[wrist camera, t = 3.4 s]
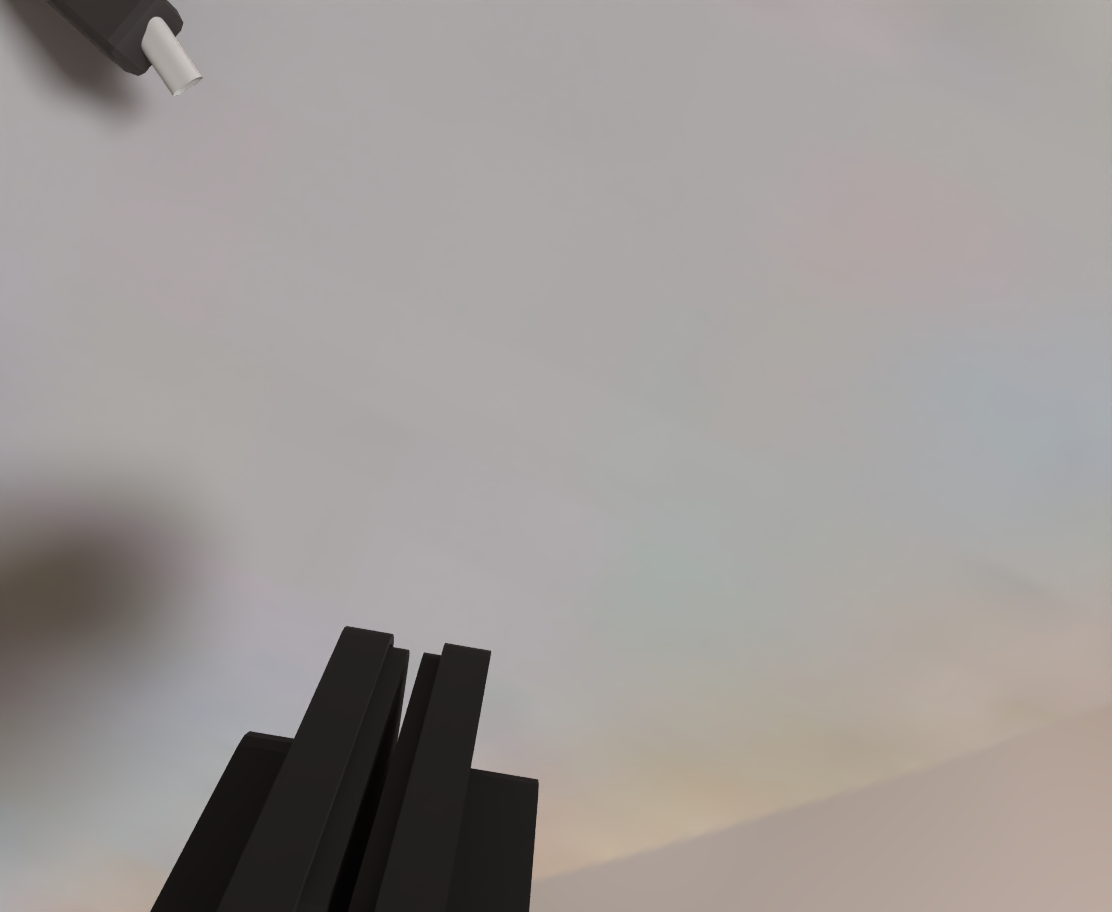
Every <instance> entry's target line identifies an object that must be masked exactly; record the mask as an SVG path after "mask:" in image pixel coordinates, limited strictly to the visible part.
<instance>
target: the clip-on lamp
mask: <svg viewBox="0 0 1112 912" xmlns="http://www.w3.org/2000/svg"><path fill="white" fill-rule="evenodd" d="M46 1H47V2H48V3H49V4H50V5H51V6H52V7H53V8H55V9H56V10H57V11H58V12H59V13H60V14H61V15H62V16H63V17H65V18H66V19H67V20H68V21H69V22H70V23H71V24H72V25H73V26H74V27H76V28H77V29H78V30H79V31H80V32H81V33H82V34H83V35H84V36H86V37H87V38H88V39H89V40H90V41H91V42H92V43H93V44H94V45H95V46H97V47H98V48H99V49H100V50H101V51H102V52H103V53H104V54H105V55H107V56H108V57H109V58H110V59H111V60H112V61H113V62H115V63H116V64H117V65H118V66H120V67H121V68H122V69H123V70H125V71H126V72H129V73H132V74H135V75H137V76H139V75H141V74H143V73H145V72H146V71H147V70H148V69H149V67H150V66H151V65H153V67H154V68H155V70H156V71H157V73H158V74H159V76H160V77H161V79H162V80H163V82H164V83H165V85H166V86H167V88H168V89H169V91H170V92H171V94H172V95H173V96H177V95H179V94H181V93H183V92H185V91H186V90H188V89H189V88H191V87H192V86H194V85H195V84H196V83H198V82H199V81H200V80H201V79H202V76H201V74H200V73H199V71H198V70H197V69H196V67H195V66H194V64H193V63H192V61H191V60H190V58H189V57H188V55H187V54H186V52H185V51H184V49H183V48H182V46H181V45H180V43H179V42H178V40H177V39H176V35H177V34H178V33H179V32H180V31H181V29H182V26H183V21H182V19H181V17H180V15H179V13H178V11H177V10H176V9H175V8H174V7H173V6H172V5H171V4H170V3H169V2H168V1H167V0H46Z"/></svg>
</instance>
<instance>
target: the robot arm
mask: <svg viewBox="0 0 1112 912" xmlns="http://www.w3.org/2000/svg"><path fill="white" fill-rule="evenodd" d="M393 644H394V636H393V634H390V633H384V632H378V631H372V630H366V629H360V628H355V627H349V626H346V627H345V628H344V629H343V631H342V633H341V635H340V638H339V640H338V642H337V644H336V647H335V649H334V651H333V653H332V655H331V658H330V660H329V662H328V664H327V667H326V669H325V671H324V673H323V676H322V678H321V680H320V682H319V684H318V687H317V689H316V691H315V693H314V696H313V698H312V700H311V702H310V704H309V707H308V709H307V711H306V713H305V716H304V718H303V720H302V722H301V725H300V727H299V729H298V731H297V733H296V736H295V738H294V739H293V738H287V737H281V736H275V735H269V734H263V733H257V732H251V731H249V732H248V733H247V734H245V735H244V737H243V738H242V740H241V741H240V743H239V745H238V746H237V748H236V750H235V752H234V754H233V756H232V758H231V760H230V762H229V763H228V765H227V767H226V769H225V771H224V773H223V775H222V777H221V779H220V780H219V782H218V784H217V786H216V788H215V790H214V792H213V794H212V796H211V798H210V799H209V801H208V803H207V805H206V807H205V809H204V811H203V813H202V815H201V817H200V818H199V820H198V822H197V824H196V826H195V828H194V830H193V832H192V834H191V835H190V837H189V839H188V841H187V843H186V845H185V847H184V849H183V851H182V853H181V854H180V856H179V858H178V860H177V862H176V864H175V866H174V868H173V870H172V872H171V873H170V875H169V877H168V879H167V881H166V883H165V885H164V887H163V889H162V890H161V892H160V894H159V896H158V898H157V900H156V902H155V904H154V906H153V908H152V909H151V911H150V912H529V905H530V892H531V880H532V867H533V854H534V841H535V828H536V816H537V803H538V787H539V783H538V779H532V778H526V777H520V776H514V775H508V774H502V773H496V772H490V771H484V770H478V769H472V768H471V763H472V757H473V751H474V746H475V740H476V735H477V729H478V723H479V718H480V712H481V706H482V701H483V695H484V689H485V684H486V678H487V673H488V667H489V661H490V656H491V651H489V650H483V649H477V648H471V647H465V646H460V645H454V644H448V643H445V644H444V648H443V651H442V655H436V654H430V653H424V654H423V657H422V660H421V663H420V667H419V670H418V673H417V677H416V680H415V684H414V687H413V690H412V694H411V697H410V701H409V704H408V708H407V711H406V714H405V718H404V721H403V725H402V728H401V731H400V735H399V738H398V733H399V726H400V719H401V712H402V705H403V698H404V691H405V684H406V676H407V669H408V662H409V650H406V649H401V648H395V647H393ZM397 741H398V742H397Z"/></svg>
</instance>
